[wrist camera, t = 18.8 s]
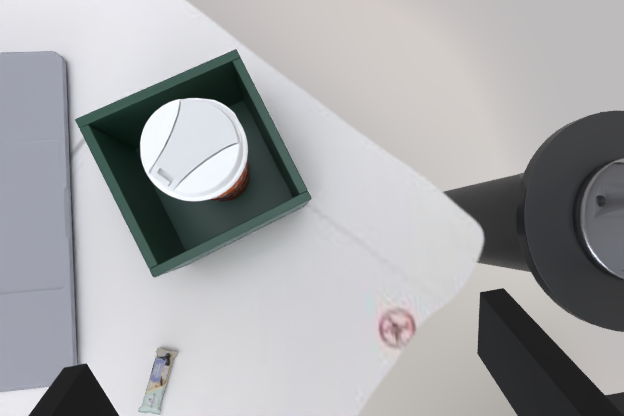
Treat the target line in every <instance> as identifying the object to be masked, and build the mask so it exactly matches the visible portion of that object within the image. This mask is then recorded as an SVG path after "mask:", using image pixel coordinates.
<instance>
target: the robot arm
mask: <svg viewBox="0 0 624 416" xmlns="http://www.w3.org/2000/svg"><path fill="white" fill-rule="evenodd" d="M573 225H574V231H575V234H576V238H577V240H578V243H579V245H580V247H581V249H582V251H583V252H584V254H585V255H586V257H587V258H588V259H589V260H590V261H591V263H593V264H594V265H595V266H596V267H597V268H598V269H599V270H601V271H602V272H604V273H606V274H607V275H609V276H612V277H614V278H617V279H621V280H624V158H622V159H617V160H613V161H609V162H607V163H604V164H602V165H600V166H599V167H597V168H596V169H594V170H593V171H592V172H591V173H590V174H589V175H588V176H587V177H586V178H585V180H584V181H583V182H582V184H581V186H580V188H579V190H578V192H577V194H576V198H575V201H574V207H573ZM478 355H479V357H480V358H481V360H482V361H483V363H484V364H485V366H486V367H487V369H488V370H489V372H490V374H491V375H492V377H493V378H494V380H495V381H496V383H497V384H498V386H499V387H500V389H501V391H502V392H503V394H504V395H505V397H506V398H507V400H508V401H509V403H510V404H511V406H512V408H513V409H514V411H515V412H516V414H517V415H518V416H624V392H622V393H617V394H611V395H604V394H603V393H602V392H601V391H600V390H599V389H598V388H597V387H596V385H594V383H592V381H591V380H590V379H589V378H588V377H587V376H586V375H585V374H584V373H583V372H582V371H581V370H580V369H579V368H578V367H577V365H576V364H575V363H574V362H573V361H572V360H571V359H570V358H569V357H568V356H567V355H566V354H565V353H564V352H563V351H562V350H561V349H560V348H559V346H558V345H557V344H556V343H555V342H554V341H553V340H552V339H551V338H550V337H549V336H548V335H547V334H546V333H545V332H544V331H543V330H542V328H541V327H540V326H539V325H538V324H537V323H536V322H535V321H534V320H533V319H532V318H531V317H530V316H529V315H528V314H527V313H526V312H525V311H524V310H523V309H522V307H521V306H520V305H519V304H518V303H517V302H516V301H515V300H514V299H513V298H512V297H511V296H510V295H509V294H508V293H507V292H506V290H505V289H503V288H502V289H497V290H491V291H486V292H481V293H480V308H479V331H478ZM29 416H119V415H118V413H117V412H116V410H115V408H114V407H113V405H112V404H111V402H110V400H109V399H108V397H107V396H106V394H105V392H104V391H103V389H102V388H101V386H100V384H99V383H98V381H97V380H96V378H95V376H94V375H93V373H92V371H91V370H90V368H89V367H88V365H87V363H86V364H81V365H75V366H70V367H64V368H63V369H62V371H61V372H60V373H59V375H58V376H57V378H56V379H55V380H54V382H53V383H52V384H51V386H50V387H49V389H48V390H47V391H46V393H45V394H44V395H43V397H42V398H41V399H40V401H39V402H38V404H37V405H36V406H35V408H34V409H33V410H32V412H31V413H30V414H29Z"/></svg>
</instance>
